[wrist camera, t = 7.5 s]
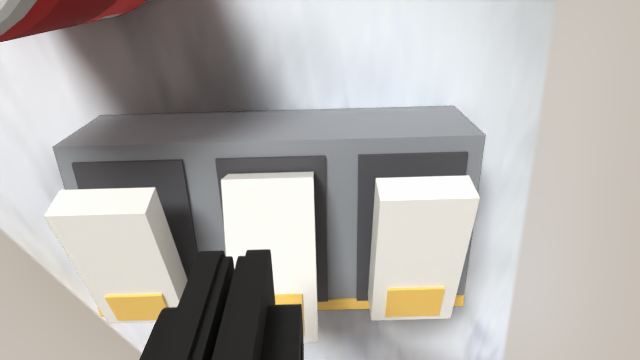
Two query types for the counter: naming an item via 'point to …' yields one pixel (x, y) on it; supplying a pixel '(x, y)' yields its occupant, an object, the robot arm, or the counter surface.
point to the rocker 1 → (120, 250)
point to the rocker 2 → (277, 233)
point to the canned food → (55, 14)
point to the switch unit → (275, 157)
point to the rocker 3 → (419, 245)
